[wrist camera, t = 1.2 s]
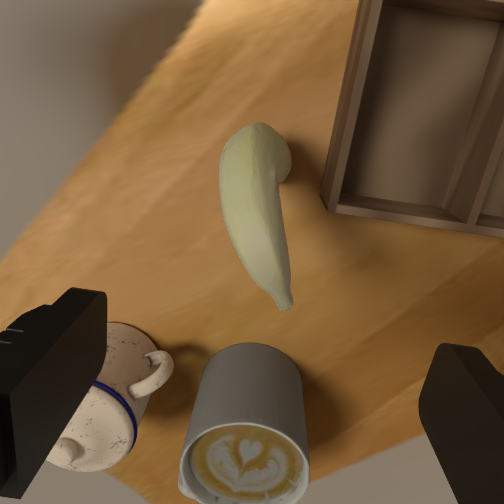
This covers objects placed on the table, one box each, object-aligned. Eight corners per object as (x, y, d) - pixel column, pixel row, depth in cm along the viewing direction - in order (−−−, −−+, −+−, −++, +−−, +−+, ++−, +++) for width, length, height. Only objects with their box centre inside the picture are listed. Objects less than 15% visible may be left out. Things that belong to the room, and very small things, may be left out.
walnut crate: (647, 35, 27) (723, 22, 23) (560, 231, 32) (609, 253, 28) (360, -7, 27) (378, -29, 23) (319, 195, 32) (327, 211, 28)
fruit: (278, 83, 28) (233, 95, 29) (261, 193, 16) (185, 209, 17) (300, 174, 32) (260, 182, 33) (299, 314, 20) (237, 322, 21)
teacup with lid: (106, 407, 42) (46, 516, 31) (54, 338, 39) (-31, 431, 28) (207, 368, 39) (181, 472, 28) (159, 292, 36) (110, 374, 26)
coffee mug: (264, 324, 37) (261, 400, 28) (321, 397, 40) (335, 489, 30) (154, 388, 40) (118, 475, 31) (213, 451, 43) (197, 549, 34)
